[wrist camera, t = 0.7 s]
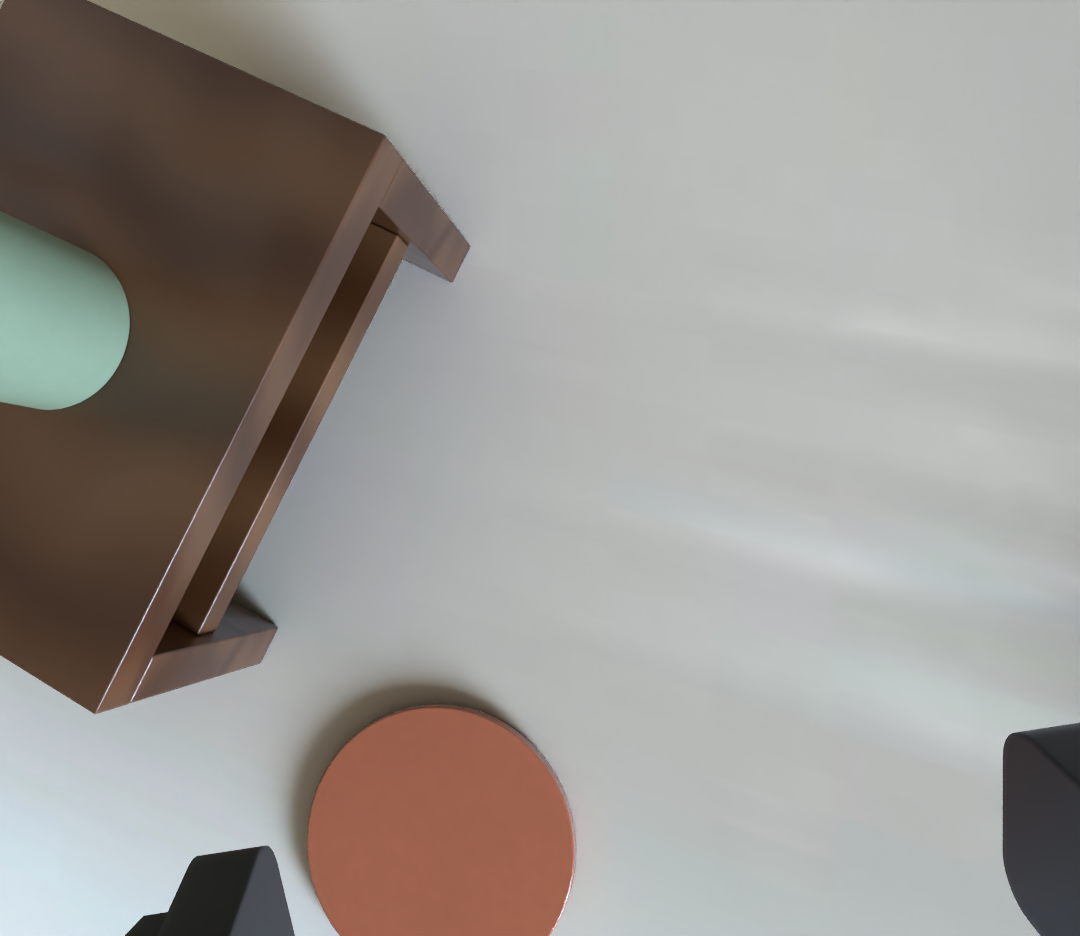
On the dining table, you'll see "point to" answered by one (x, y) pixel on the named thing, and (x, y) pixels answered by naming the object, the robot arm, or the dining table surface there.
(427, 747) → the coaster
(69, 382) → the toy figure
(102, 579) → the shelf
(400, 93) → the dining table surface
